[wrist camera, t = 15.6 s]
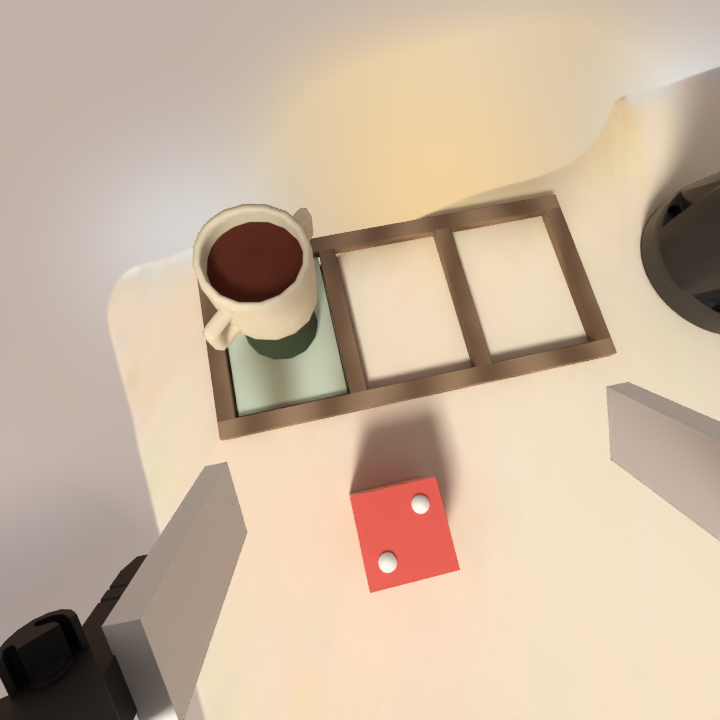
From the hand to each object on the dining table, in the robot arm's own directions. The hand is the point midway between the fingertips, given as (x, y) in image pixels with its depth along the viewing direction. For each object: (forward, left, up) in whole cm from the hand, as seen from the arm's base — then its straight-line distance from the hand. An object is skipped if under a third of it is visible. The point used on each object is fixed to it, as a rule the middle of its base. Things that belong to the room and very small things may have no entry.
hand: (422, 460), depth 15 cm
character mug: (+5, -14, -21) cm, 26 cm away
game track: (-5, -13, -22) cm, 26 cm away
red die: (0, +4, -22) cm, 22 cm away
